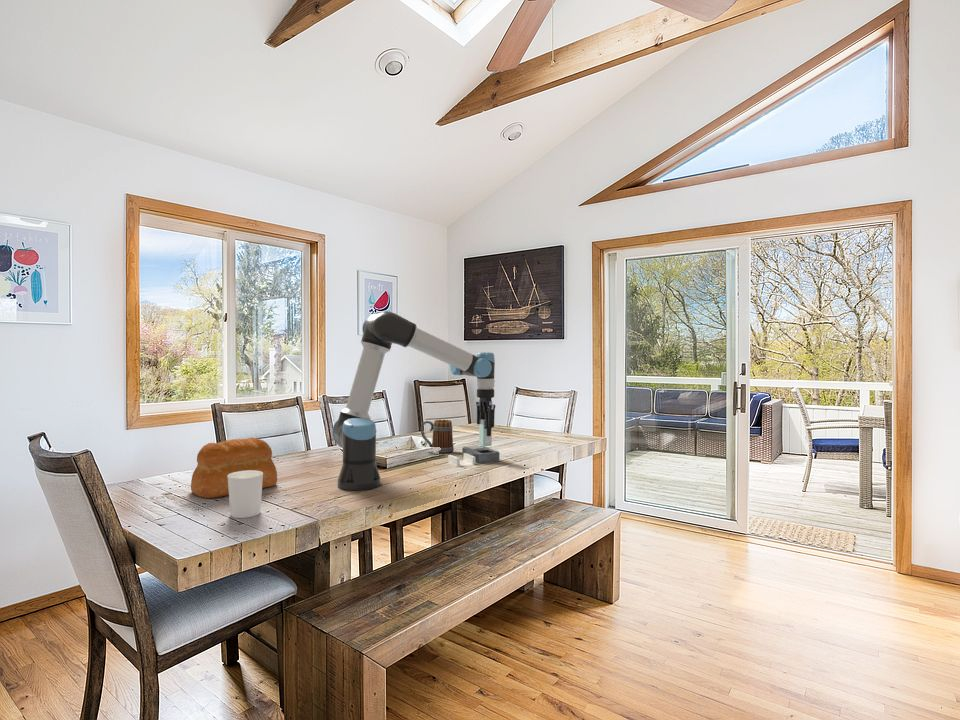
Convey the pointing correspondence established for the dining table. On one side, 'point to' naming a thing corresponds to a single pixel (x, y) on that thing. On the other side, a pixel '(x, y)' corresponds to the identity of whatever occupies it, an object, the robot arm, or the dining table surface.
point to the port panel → (482, 454)
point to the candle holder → (245, 493)
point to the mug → (440, 435)
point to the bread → (231, 465)
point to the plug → (483, 433)
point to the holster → (466, 461)
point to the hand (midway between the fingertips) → (485, 442)
